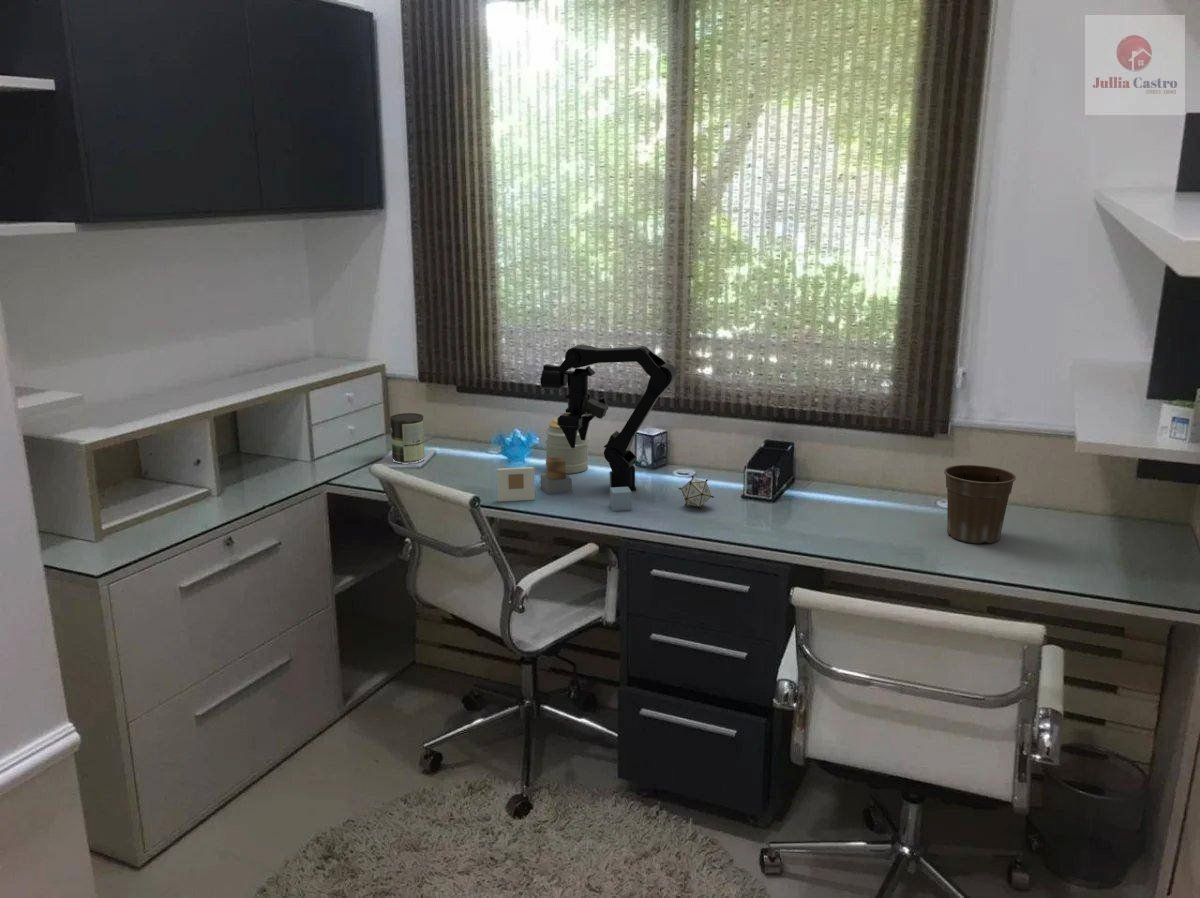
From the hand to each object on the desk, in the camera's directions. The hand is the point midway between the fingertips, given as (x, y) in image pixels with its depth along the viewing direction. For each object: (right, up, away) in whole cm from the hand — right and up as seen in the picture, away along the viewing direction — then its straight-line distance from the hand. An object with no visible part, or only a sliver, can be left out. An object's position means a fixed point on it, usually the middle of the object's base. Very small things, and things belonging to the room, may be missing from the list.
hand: (578, 443), depth 276 cm
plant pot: (+98, -23, -40) cm, 108 cm away
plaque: (-17, -15, -11) cm, 25 cm away
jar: (-4, -8, +19) cm, 21 cm away
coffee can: (-54, -5, +29) cm, 61 cm away
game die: (+32, -17, -17) cm, 40 cm away
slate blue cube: (+12, -17, -18) cm, 27 cm away
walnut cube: (-6, -9, -3) cm, 11 cm away
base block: (-6, -13, -2) cm, 15 cm away
